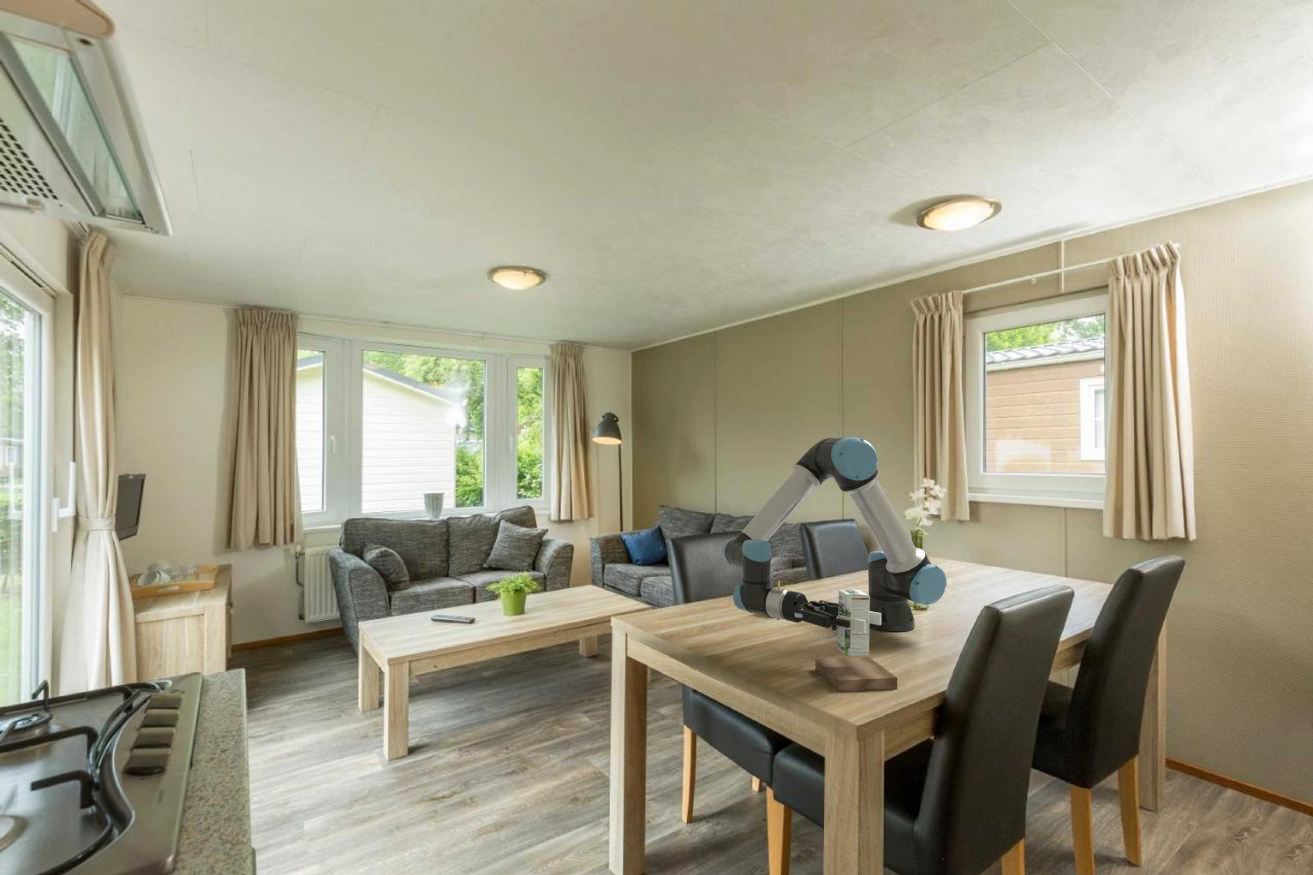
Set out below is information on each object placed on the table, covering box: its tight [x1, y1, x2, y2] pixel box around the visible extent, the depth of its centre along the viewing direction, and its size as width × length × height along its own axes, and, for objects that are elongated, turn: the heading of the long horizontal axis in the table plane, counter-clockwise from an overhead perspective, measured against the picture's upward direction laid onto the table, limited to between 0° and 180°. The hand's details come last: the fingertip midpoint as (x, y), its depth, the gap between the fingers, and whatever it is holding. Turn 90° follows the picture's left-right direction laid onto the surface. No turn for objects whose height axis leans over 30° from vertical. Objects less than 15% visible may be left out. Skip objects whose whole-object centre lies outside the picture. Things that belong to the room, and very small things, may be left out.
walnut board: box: [815, 656, 898, 692], centre depth 145 cm, size 14×14×2 cm
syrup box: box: [837, 588, 870, 657], centre depth 145 cm, size 6×6×14 cm
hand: (872, 622), depth 141 cm, fingers closed on syrup box, 8 cm apart
